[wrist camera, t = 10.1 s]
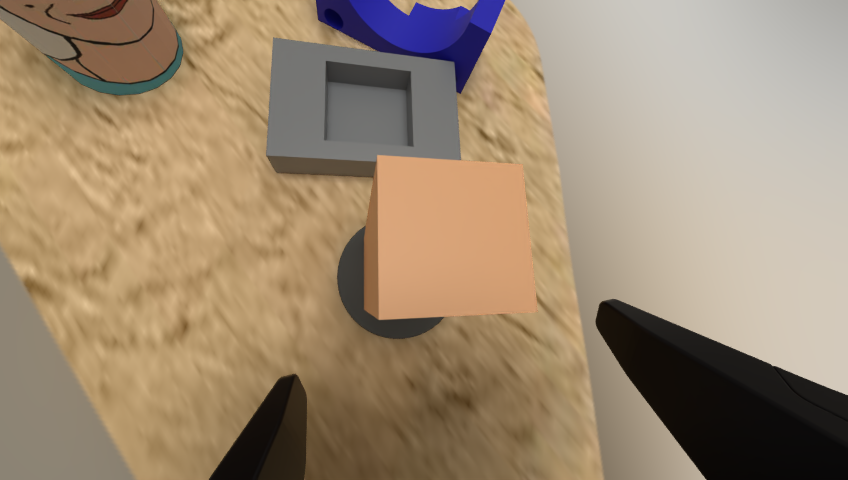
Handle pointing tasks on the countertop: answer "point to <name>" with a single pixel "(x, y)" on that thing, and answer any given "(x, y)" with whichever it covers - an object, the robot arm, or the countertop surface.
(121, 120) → the countertop surface
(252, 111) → the countertop surface
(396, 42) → the cable clip
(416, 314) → the tan rectangular block
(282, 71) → the socket block
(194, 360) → the countertop surface
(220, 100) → the countertop surface
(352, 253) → the coaster
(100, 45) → the cup
